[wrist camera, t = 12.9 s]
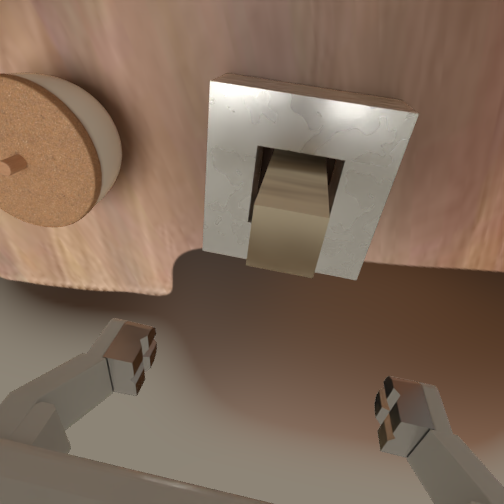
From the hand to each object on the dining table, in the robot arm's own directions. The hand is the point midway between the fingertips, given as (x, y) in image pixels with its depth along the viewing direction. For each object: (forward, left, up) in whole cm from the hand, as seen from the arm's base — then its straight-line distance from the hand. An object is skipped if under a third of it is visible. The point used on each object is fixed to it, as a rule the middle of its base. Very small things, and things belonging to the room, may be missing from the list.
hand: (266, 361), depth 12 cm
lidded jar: (0, -19, -21) cm, 28 cm away
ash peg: (0, 0, -20) cm, 20 cm away
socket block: (0, 0, -20) cm, 20 cm away
